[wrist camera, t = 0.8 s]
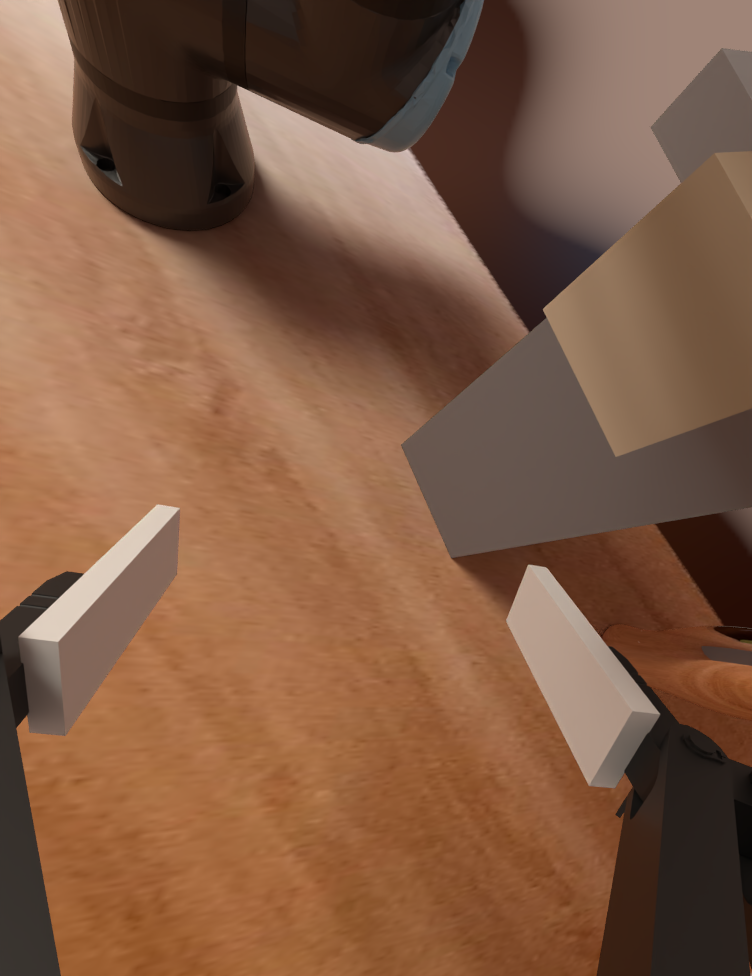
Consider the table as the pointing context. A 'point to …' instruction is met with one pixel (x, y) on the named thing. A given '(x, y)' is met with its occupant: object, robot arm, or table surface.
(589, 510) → the grey stand
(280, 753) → the table surface
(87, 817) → the table surface
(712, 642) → the beer glass
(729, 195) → the wooden bar
